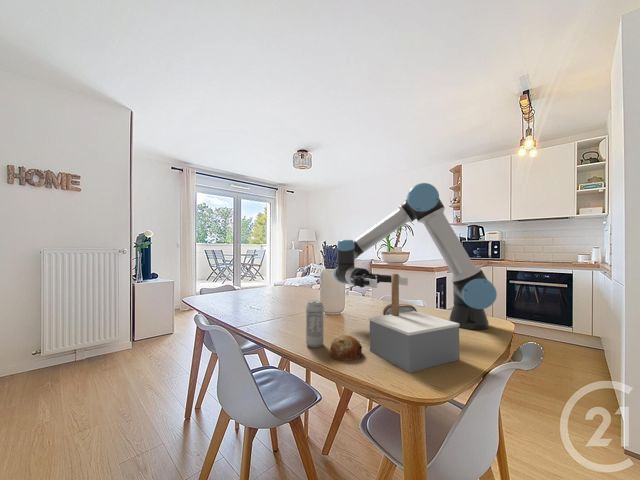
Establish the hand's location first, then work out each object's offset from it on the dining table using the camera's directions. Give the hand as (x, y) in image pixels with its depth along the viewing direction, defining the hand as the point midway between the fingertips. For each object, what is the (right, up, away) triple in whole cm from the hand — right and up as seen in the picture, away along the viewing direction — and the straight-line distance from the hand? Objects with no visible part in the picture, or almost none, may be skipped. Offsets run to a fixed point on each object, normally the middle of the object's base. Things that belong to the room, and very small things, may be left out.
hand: (392, 282), depth 97 cm
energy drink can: (-27, -22, +1) cm, 35 cm away
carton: (+4, -22, -8) cm, 24 cm away
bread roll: (-17, -22, -8) cm, 29 cm away
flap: (+4, -12, -8) cm, 15 cm away
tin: (+11, -23, +28) cm, 38 cm away
